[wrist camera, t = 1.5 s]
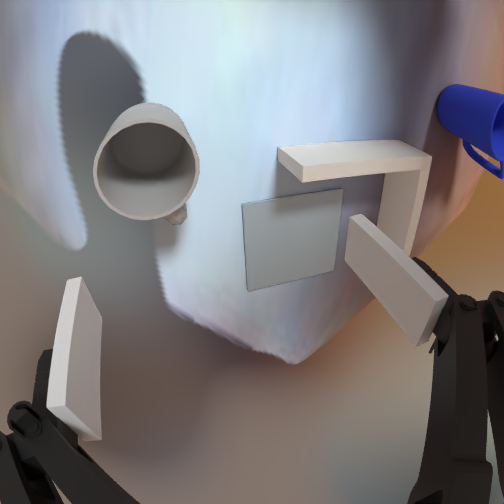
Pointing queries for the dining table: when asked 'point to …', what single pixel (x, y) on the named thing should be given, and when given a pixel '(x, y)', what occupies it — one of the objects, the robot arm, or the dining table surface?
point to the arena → (365, 163)
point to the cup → (147, 164)
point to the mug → (475, 122)
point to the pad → (291, 237)
